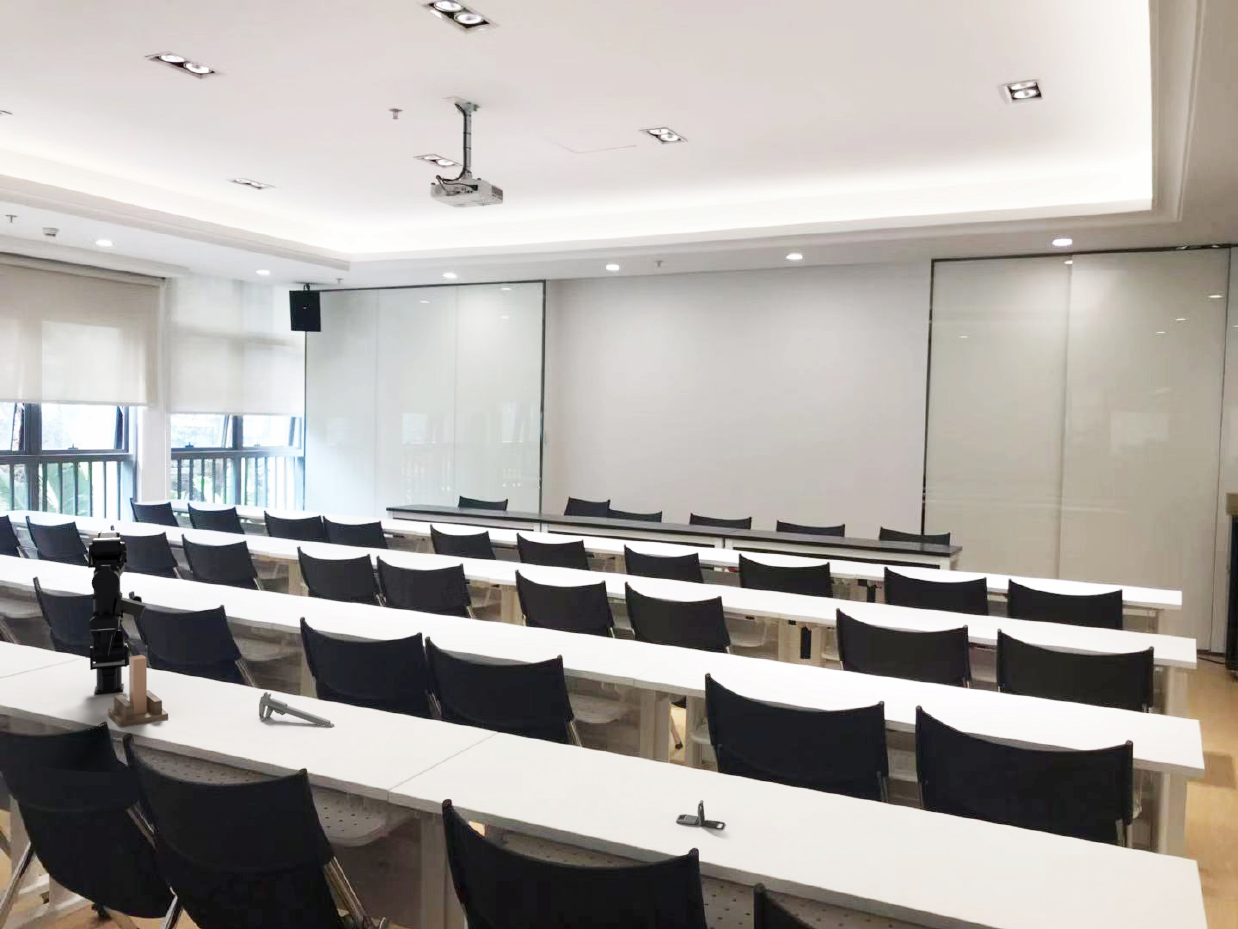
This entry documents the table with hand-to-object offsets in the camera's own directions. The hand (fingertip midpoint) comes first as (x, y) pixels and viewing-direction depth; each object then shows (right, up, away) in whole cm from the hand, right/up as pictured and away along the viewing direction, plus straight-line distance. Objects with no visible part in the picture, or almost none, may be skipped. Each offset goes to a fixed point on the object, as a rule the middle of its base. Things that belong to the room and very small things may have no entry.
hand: (107, 652), depth 225 cm
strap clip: (+140, -19, -61) cm, 154 cm away
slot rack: (+11, -14, -7) cm, 19 cm away
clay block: (+11, -12, -7) cm, 18 cm away
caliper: (+49, -15, -9) cm, 52 cm away
